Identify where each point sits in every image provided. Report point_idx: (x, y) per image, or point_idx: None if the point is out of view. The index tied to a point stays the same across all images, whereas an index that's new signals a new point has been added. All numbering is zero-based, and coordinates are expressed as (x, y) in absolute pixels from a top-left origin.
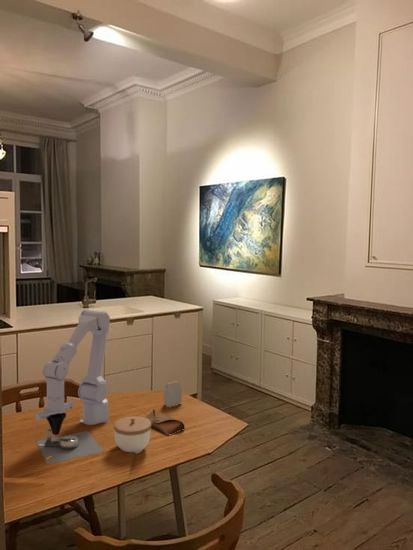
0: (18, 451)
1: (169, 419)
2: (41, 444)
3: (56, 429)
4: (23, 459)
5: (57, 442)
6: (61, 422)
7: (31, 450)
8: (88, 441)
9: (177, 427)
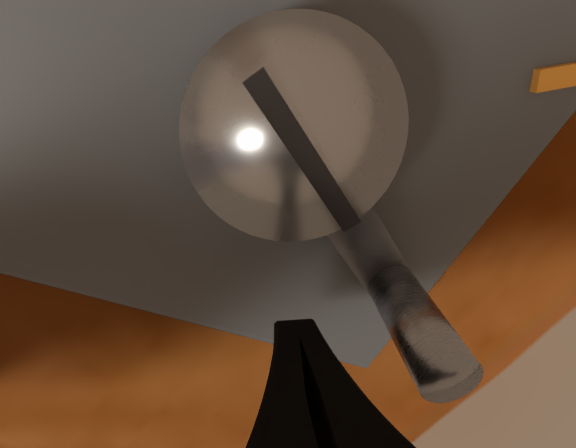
0: (479, 342)
1: None
2: None
3: (334, 362)
4: (558, 247)
5: (357, 227)
6: (276, 433)
7: (440, 307)
8: (50, 30)
9: None
